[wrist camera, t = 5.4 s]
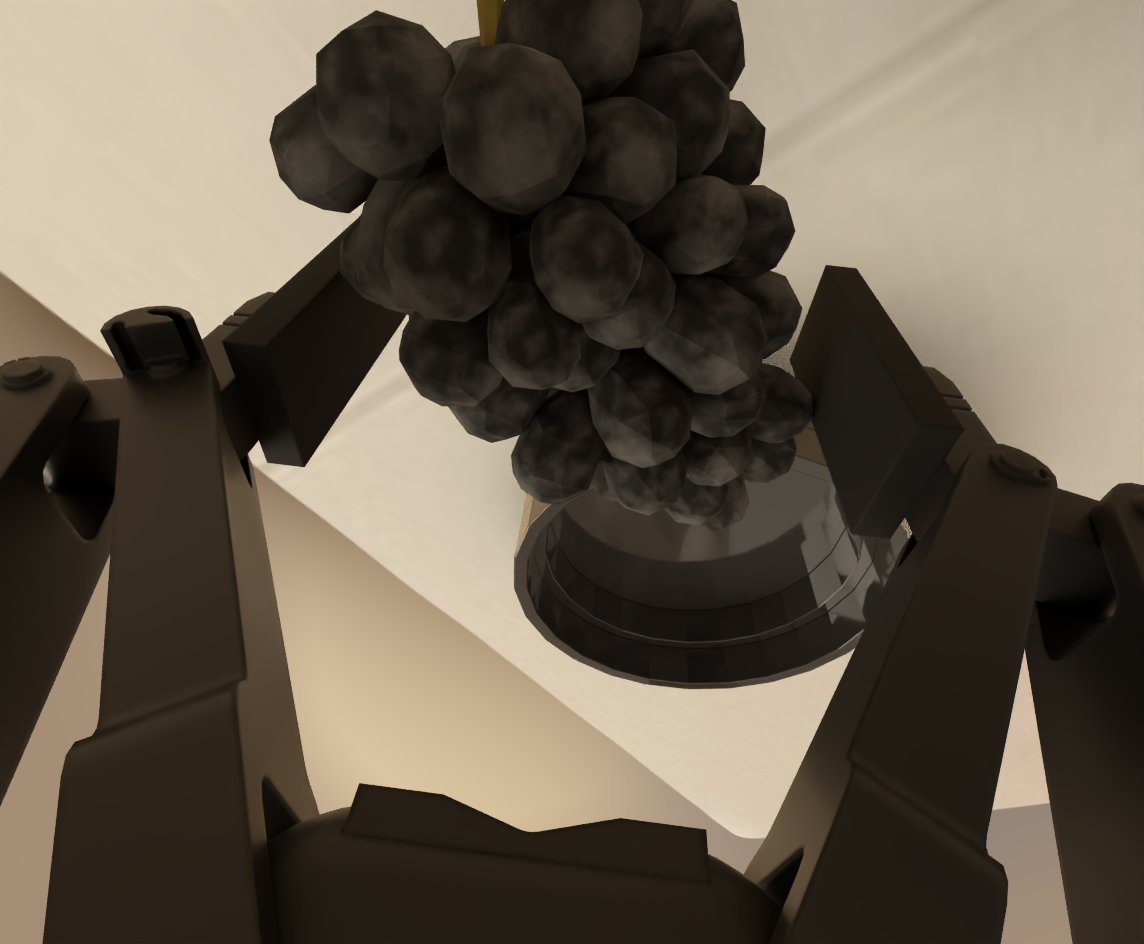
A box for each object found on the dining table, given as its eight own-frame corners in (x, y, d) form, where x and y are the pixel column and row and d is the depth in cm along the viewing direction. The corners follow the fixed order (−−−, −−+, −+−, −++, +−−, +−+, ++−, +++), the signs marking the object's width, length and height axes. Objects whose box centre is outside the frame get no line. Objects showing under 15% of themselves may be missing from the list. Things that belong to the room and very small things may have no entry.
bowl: (945, 398, 30) (999, 475, 25) (803, 629, 44) (821, 704, 40) (532, 354, 30) (514, 423, 26) (525, 598, 44) (513, 669, 40)
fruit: (852, 714, 12) (460, -281, 4) (552, 658, 17) (78, 166, 9) (880, 436, 17) (737, -275, 9) (639, 453, 22) (394, 8, 14)
